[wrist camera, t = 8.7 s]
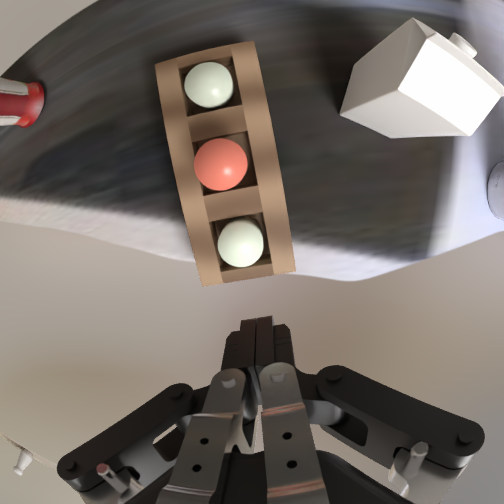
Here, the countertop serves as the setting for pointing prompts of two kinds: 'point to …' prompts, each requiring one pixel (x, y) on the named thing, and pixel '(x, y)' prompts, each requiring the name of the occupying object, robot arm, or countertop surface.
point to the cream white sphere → (241, 241)
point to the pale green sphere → (209, 86)
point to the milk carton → (420, 86)
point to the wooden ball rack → (257, 175)
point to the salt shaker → (23, 461)
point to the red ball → (220, 164)
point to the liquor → (20, 102)
